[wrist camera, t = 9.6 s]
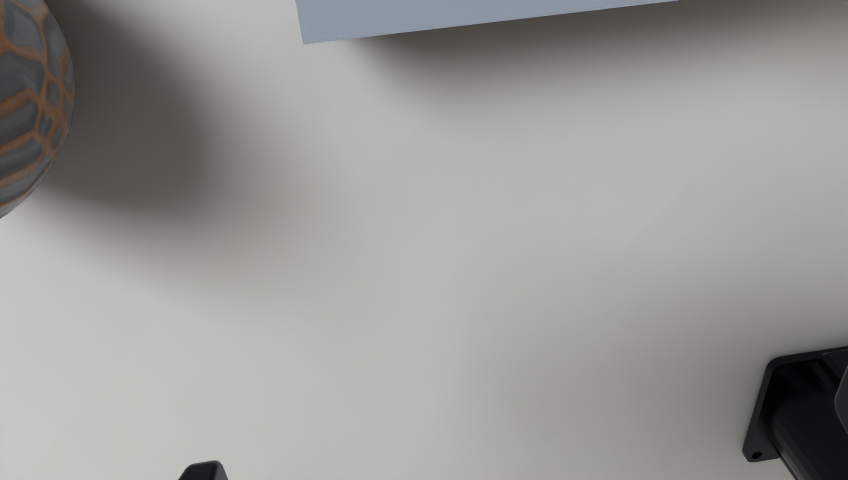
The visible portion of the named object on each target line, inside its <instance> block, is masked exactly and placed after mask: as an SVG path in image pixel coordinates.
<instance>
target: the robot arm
mask: <svg viewBox="0 0 848 480" xmlns="http://www.w3.org/2000/svg"><path fill="white" fill-rule="evenodd" d="M742 453H743V455H744V456H745V458H746V459H747V461H749V462H758V461H764V460H771V459H777V458H780V459H781V460H782V461H783V463H784V464H785V466H786V467H787V469H788V470H789V472H790V473H791V475H792V476H793V477H794V479H795V480H848V346H847V347H840V348H834V349H827V350H821V351H814V352H808V353H802V354H795V355H789V356H782V357H778V358H775V359H773V360H772V361H770V362H769V363H768V365H767V367H766V370H765V374H764V377H763V381H762V384H761V387H760V391H759V394H758V398H757V401H756V404H755V408H754V411H753V415H752V418H751V422H750V425H749V428H748V432H747V435H746V439H745V442H744V446H743V449H742ZM178 480H228V478H227V476H226V473H225V470H224V468H223V466H222V464H221V463H220V462H219V461H215V460H214V461H207V462H201V463H195V464H192V465H190V466H188V467H187V468H186V469H185V471H184V472H183V473H182V475H181V476H180V478H179V479H178Z"/></svg>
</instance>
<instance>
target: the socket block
mask: <svg viewBox="0 0 848 480" xmlns="http://www.w3.org/2000/svg"><path fill="white" fill-rule="evenodd" d="M669 1H677V0H296V5H297V11H298V17H299V22H300V28H301V33H302V39H303V44H310V43H318V42H327V41H336V40H344V39H353V38H361V37H370V36H378V35H387V34H395V33H404V32H412V31H421V30H429V29H438V28H447V27H455V26H464V25H472V24H481V23H489V22H498V21H506V20H515V19H523V18H532V17H540V16H549V15H558V14H566V13H575V12H583V11H592V10H600V9H609V8H617V7H626V6H634V5H643V4H651V3H660V2H669Z"/></svg>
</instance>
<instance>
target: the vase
mask: <svg viewBox="0 0 848 480" xmlns="http://www.w3.org/2000/svg"><path fill="white" fill-rule="evenodd" d="M74 101H75V82H74V72H73V65H72V60H71V56H70V52H69V49H68V46H67V43H66V40H65V38H64V35H63V33H62V31H61V29H60V27H59V25H58V23H57V21H56V19H55V18H54V16H53V14H52V12H51V11H50V9H49V8H48V6H47V5H46V3H45V2H44V0H0V218H2V217H3V216H5V215H6V214H8V213H9V212H10V211H12V210H13V209H14V208H16V207H17V206H18V205H19V204H20V203H21V202H23V201H24V200H25V199H26V198H27V197H28V196H29V195H30V194H31V193H32V192H33V191H34V190H35V189H36V187H37V186H38V185H39V184H40V182H41V181H42V180H43V179H44V177H45V176H46V175H47V173H48V172H49V170H50V169H51V167H52V165H53V164H54V162H55V160H56V159H57V157H58V155H59V153H60V151H61V149H62V147H63V144H64V142H65V140H66V138H67V135H68V132H69V129H70V126H71V122H72V117H73V110H74Z"/></svg>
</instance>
